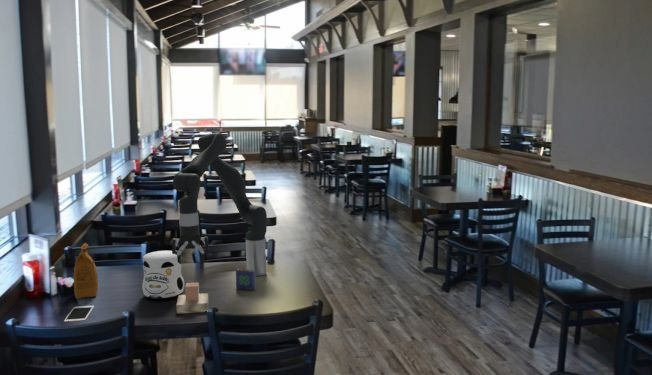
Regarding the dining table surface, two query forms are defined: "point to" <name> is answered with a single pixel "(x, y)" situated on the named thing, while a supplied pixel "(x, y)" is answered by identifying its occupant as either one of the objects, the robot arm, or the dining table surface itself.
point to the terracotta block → (192, 291)
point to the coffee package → (85, 275)
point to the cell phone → (79, 313)
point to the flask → (245, 279)
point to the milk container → (162, 275)
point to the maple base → (192, 304)
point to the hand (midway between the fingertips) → (191, 263)
